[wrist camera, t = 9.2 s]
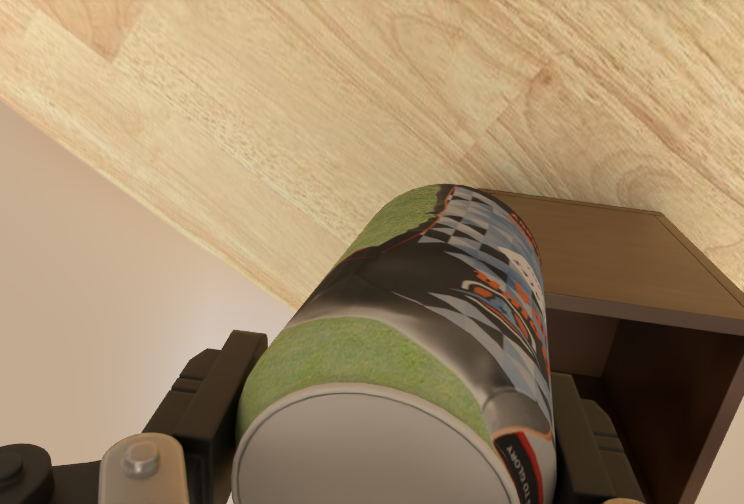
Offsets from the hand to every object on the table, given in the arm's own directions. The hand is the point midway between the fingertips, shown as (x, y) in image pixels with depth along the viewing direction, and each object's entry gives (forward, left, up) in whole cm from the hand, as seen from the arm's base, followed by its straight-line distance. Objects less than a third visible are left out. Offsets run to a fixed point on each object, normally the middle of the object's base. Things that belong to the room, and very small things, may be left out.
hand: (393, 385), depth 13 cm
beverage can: (+1, 0, -8) cm, 8 cm away
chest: (+10, -10, -27) cm, 31 cm away
